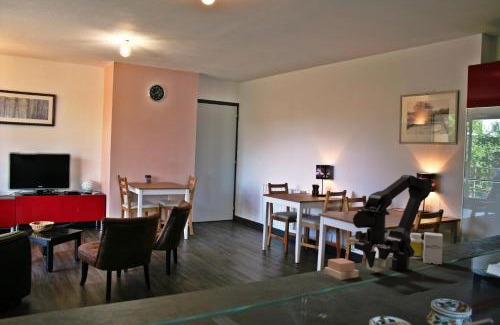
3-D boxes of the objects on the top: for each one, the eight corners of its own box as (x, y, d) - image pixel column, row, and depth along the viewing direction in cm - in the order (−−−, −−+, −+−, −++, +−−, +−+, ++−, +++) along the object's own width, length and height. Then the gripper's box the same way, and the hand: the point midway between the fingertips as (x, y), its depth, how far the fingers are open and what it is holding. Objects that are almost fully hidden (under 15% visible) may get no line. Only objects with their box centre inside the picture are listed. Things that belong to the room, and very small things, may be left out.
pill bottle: (423, 259, 187) (424, 235, 187) (409, 258, 188) (410, 234, 188) (420, 256, 193) (421, 233, 193) (406, 255, 195) (407, 232, 194)
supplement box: (423, 263, 181) (424, 234, 181) (423, 259, 188) (424, 231, 188) (441, 265, 178) (443, 235, 178) (441, 261, 185) (442, 233, 185)
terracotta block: (342, 265, 163) (342, 258, 163) (354, 270, 156) (354, 262, 156) (327, 267, 159) (328, 259, 159) (339, 272, 153) (340, 264, 153)
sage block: (375, 267, 165) (375, 257, 165) (385, 270, 160) (385, 260, 160) (366, 268, 162) (366, 258, 162) (376, 271, 158) (376, 261, 158)
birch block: (341, 272, 164) (342, 264, 164) (358, 278, 156) (358, 270, 156) (324, 275, 160) (324, 267, 159) (340, 281, 152) (340, 273, 152)
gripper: (378, 222, 173) (377, 259, 173) (344, 224, 164) (343, 264, 164) (400, 226, 163) (398, 266, 163) (365, 229, 154) (364, 271, 154)
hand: (375, 266), depth 161 cm, fingers closed on sage block, 5 cm apart
